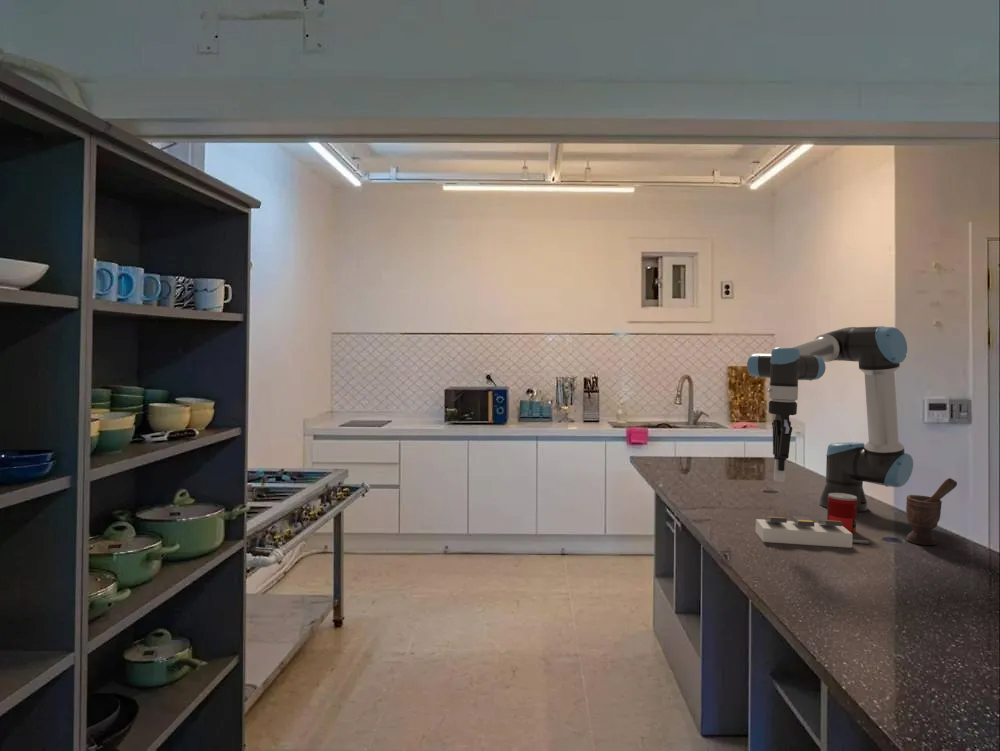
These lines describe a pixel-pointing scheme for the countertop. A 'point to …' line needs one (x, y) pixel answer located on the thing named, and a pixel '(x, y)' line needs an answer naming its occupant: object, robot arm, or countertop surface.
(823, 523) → the rocker
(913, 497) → the mortar and pestle
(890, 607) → the countertop surface
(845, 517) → the canned food
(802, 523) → the rocker middle
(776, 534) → the rocker switch panel
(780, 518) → the block
